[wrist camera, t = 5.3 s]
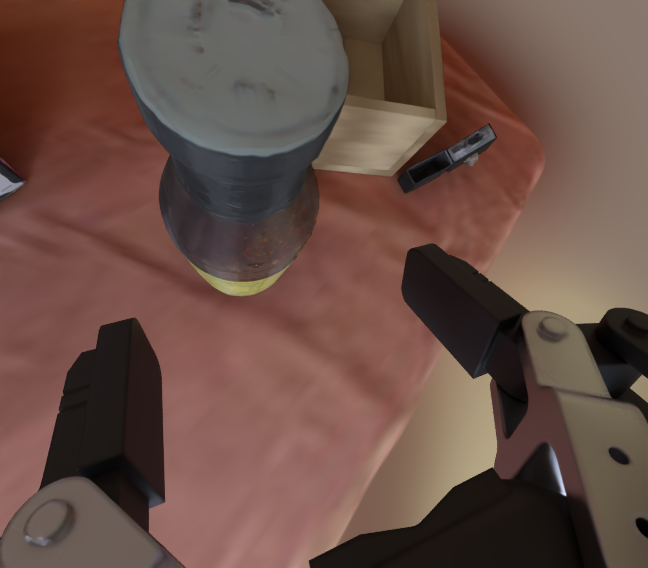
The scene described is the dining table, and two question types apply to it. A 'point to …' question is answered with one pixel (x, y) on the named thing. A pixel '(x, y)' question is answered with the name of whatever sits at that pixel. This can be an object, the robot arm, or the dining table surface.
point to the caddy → (386, 85)
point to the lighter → (448, 159)
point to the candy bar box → (9, 179)
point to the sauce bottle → (237, 125)
